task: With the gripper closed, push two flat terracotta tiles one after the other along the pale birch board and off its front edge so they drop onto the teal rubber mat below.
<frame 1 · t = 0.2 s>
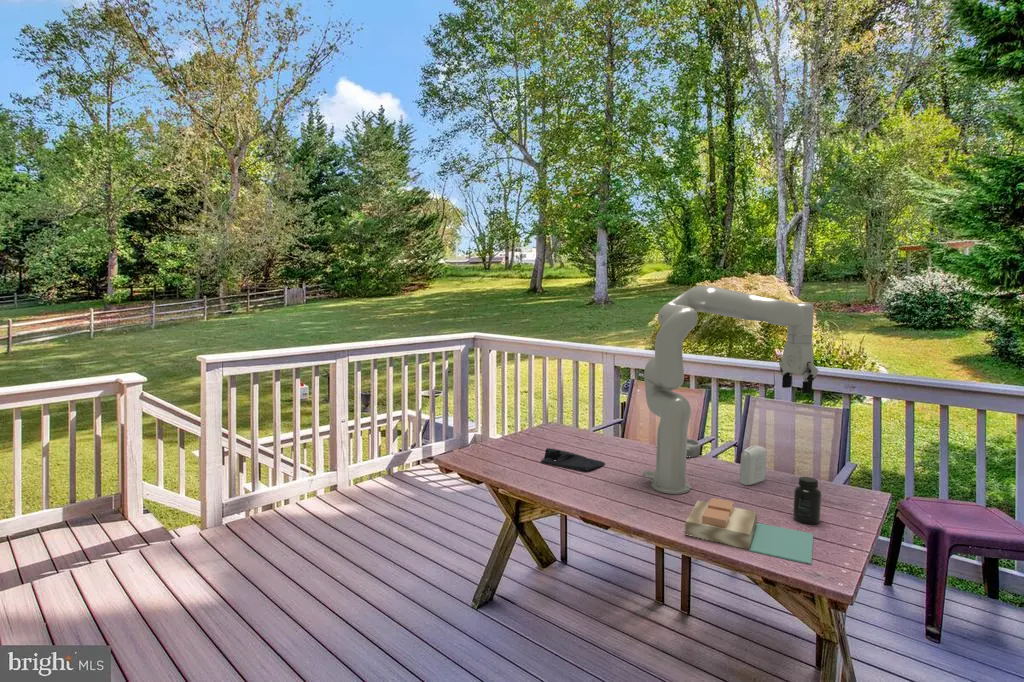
hand: (796, 390, 190), 31 cm above the table, tool pointing down, fingers open, 9 cm apart
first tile: (715, 517, 150), point 5 cm above the table, touching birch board
rubber mat: (782, 542, 147), on the table
black folded cloth: (572, 464, 210), on the table
photo printer: (752, 482, 191), on the table
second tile: (720, 506, 157), point 5 cm above the table, touching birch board
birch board: (721, 530, 154), on the table
supplement bottle: (806, 520, 161), on the table
dish: (682, 453, 222), on the table
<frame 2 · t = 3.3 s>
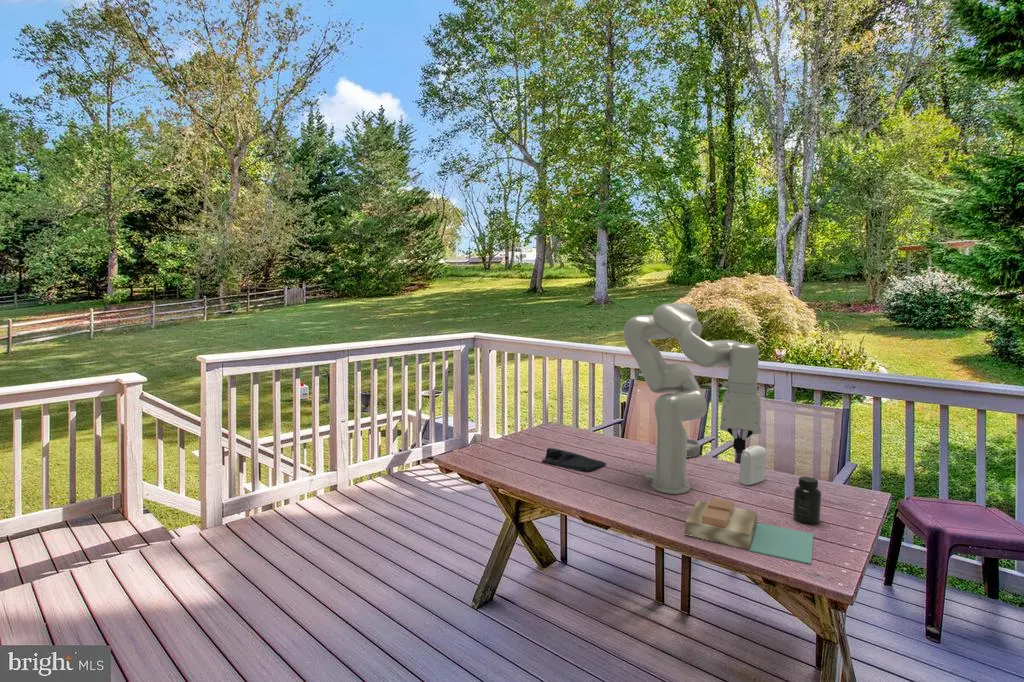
hand: (739, 451, 158), 20 cm above the table, tool pointing down, fingers closed
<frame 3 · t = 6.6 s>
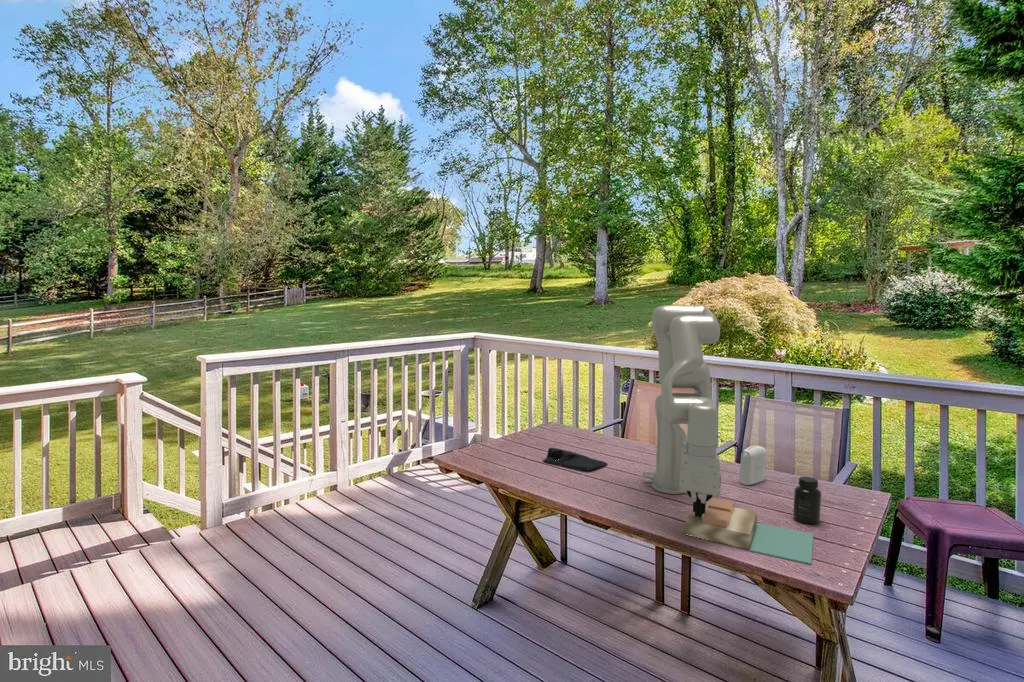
hand: (698, 515, 152), 5 cm above the table, tool pointing down, fingers closed
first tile: (716, 517, 150), point 5 cm above the table, touching gripper
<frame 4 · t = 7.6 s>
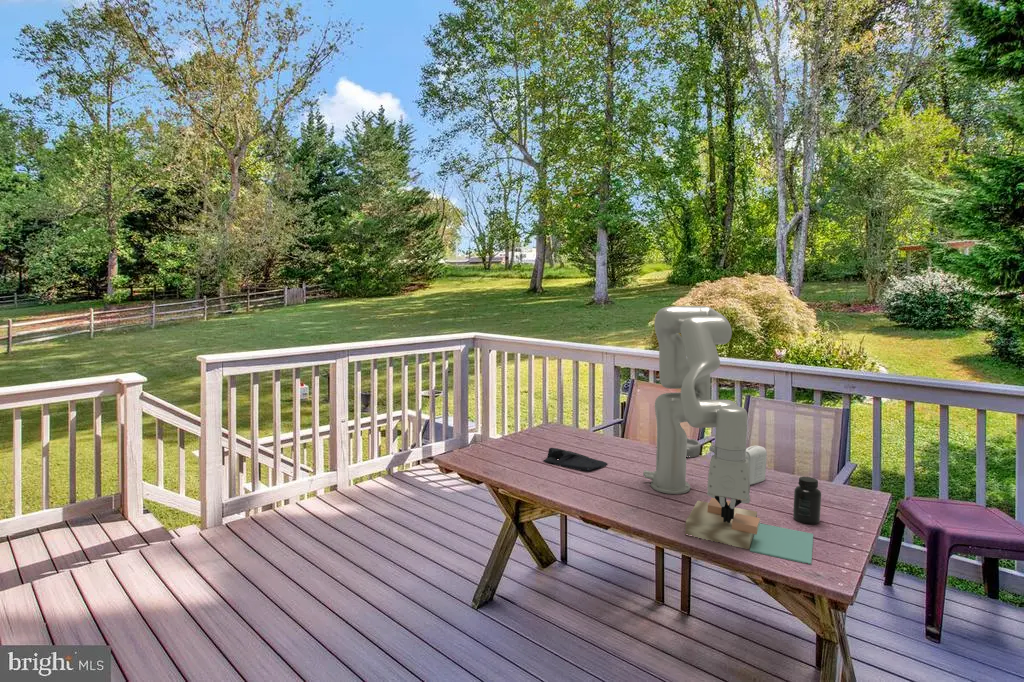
hand: (727, 520, 149), 5 cm above the table, tool pointing down, fingers closed
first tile: (746, 523, 147), point 5 cm above the table, touching gripper
everything else where it was.
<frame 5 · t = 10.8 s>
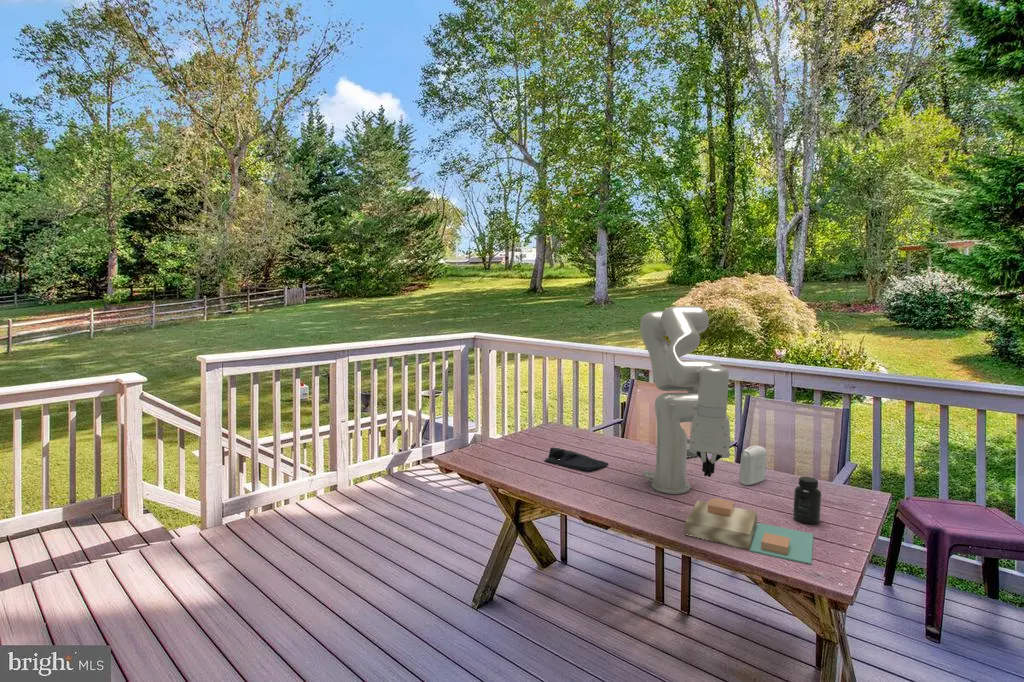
hand: (708, 474, 156), 14 cm above the table, tool pointing down, fingers closed
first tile: (775, 543, 143), point 1 cm above the table, tilted 180°, touching rubber mat
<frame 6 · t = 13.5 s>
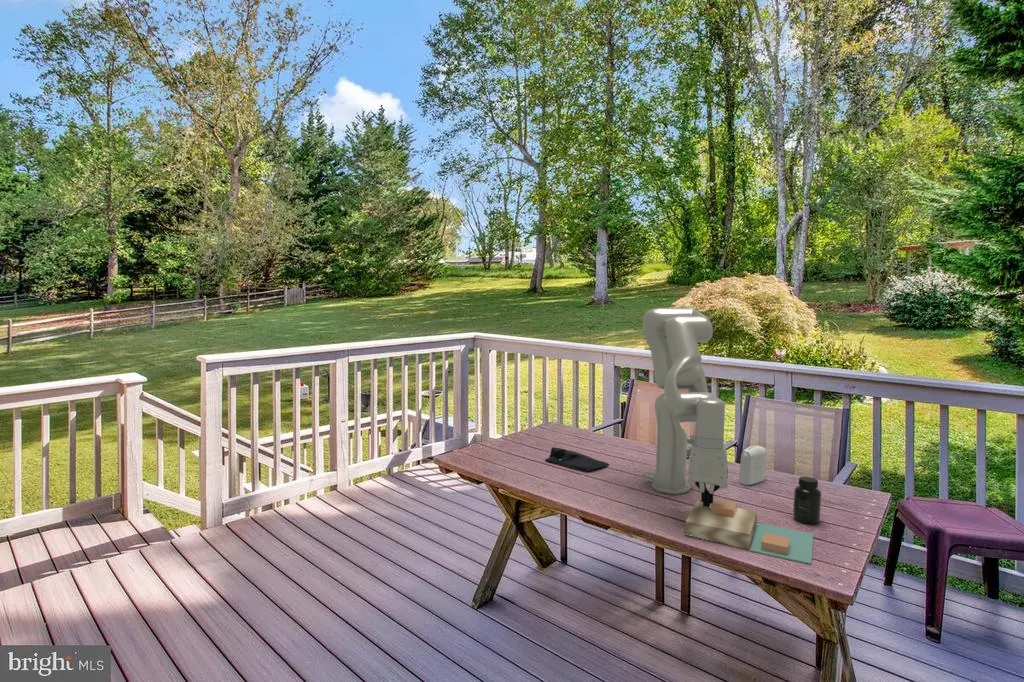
hand: (706, 505, 159), 5 cm above the table, tool pointing down, fingers closed
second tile: (723, 507, 157), point 5 cm above the table, touching gripper
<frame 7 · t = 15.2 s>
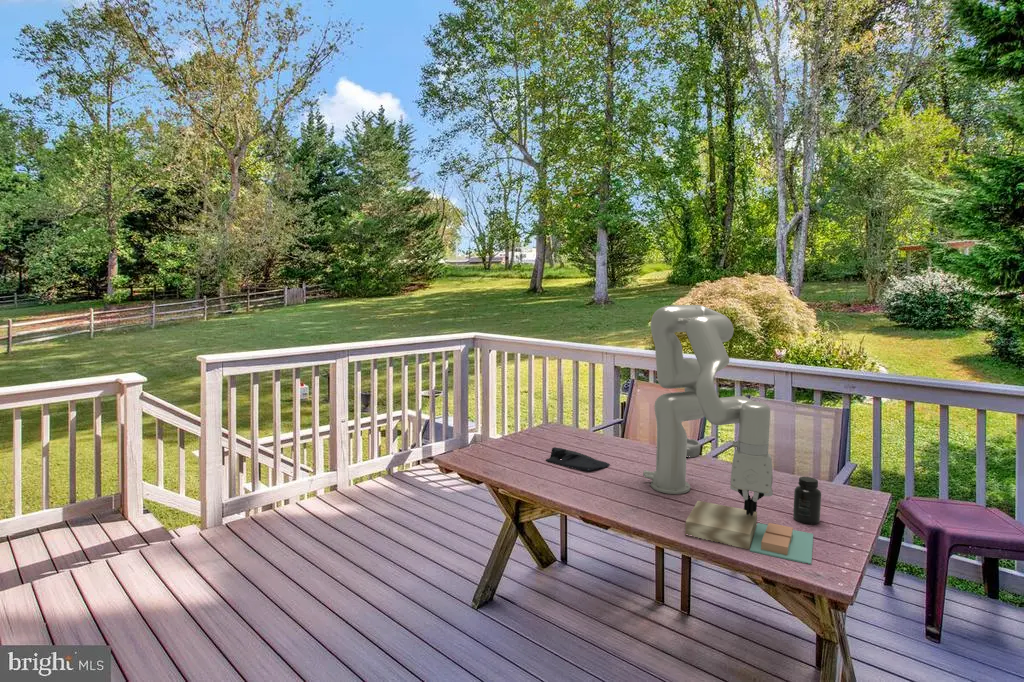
hand: (750, 513, 154), 5 cm above the table, tool pointing down, fingers closed
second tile: (779, 532, 149), point 1 cm above the table, tilted 180°, touching rubber mat
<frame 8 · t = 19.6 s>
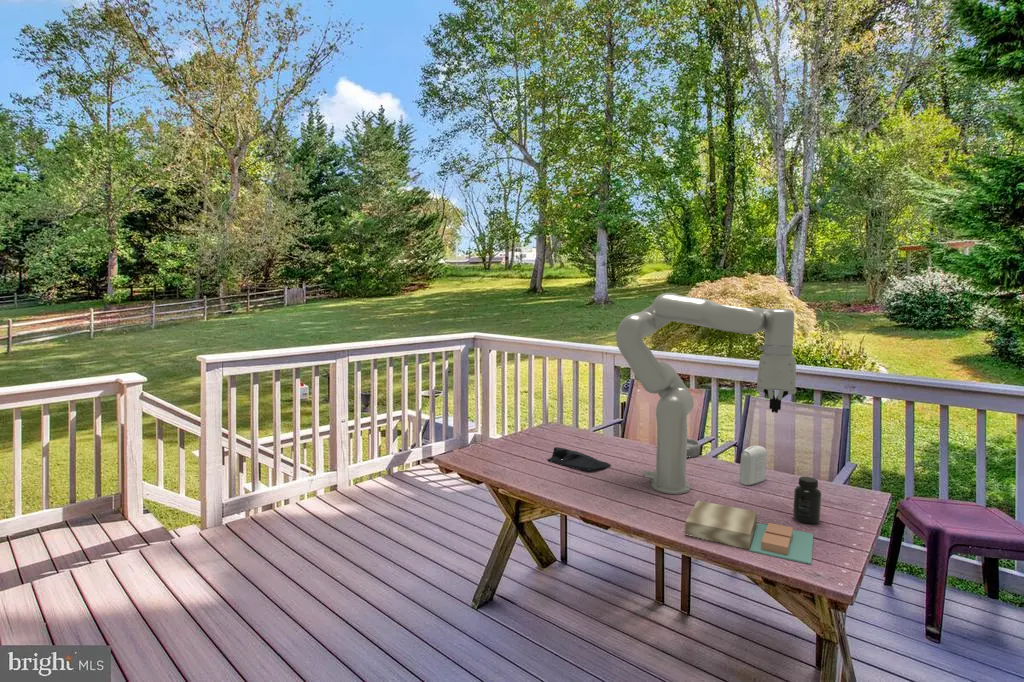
hand: (774, 411, 167), 29 cm above the table, tool pointing down, fingers closed
at the end: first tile inside the target area (4.6 cm from its centre), point 1.4 cm above the table; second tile inside the target area (3.0 cm from its centre), point 1.4 cm above the table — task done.
